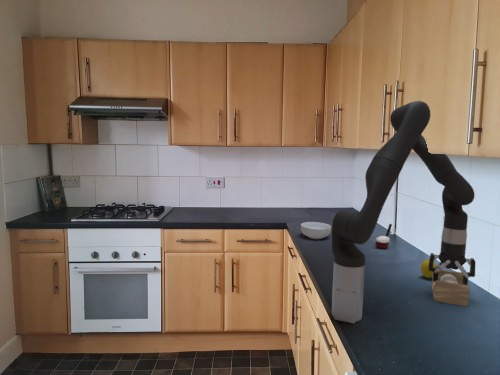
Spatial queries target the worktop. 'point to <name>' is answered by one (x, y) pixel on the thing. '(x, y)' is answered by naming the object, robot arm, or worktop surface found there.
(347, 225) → the robot arm
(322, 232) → the cereal bowl
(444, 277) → the paper roll
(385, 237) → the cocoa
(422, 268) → the lemon
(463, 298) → the roll holder
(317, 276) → the worktop surface
